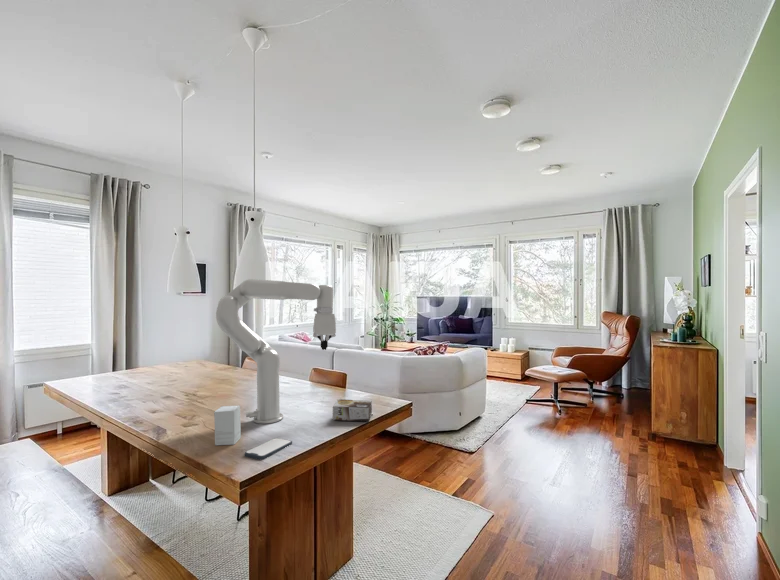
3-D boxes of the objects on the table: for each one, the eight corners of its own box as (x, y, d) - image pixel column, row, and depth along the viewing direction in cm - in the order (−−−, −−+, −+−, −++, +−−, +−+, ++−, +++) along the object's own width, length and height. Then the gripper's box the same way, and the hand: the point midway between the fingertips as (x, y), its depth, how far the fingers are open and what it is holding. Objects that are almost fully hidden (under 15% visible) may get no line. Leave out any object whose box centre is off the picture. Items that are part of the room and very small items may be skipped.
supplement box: (241, 437, 147) (241, 405, 147) (234, 445, 140) (234, 410, 140) (222, 438, 147) (221, 405, 147) (214, 445, 140) (213, 411, 140)
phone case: (275, 441, 145) (242, 457, 130) (275, 437, 145) (242, 452, 130) (293, 445, 141) (262, 461, 126) (293, 440, 141) (262, 456, 126)
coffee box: (332, 420, 164) (369, 422, 163) (332, 405, 164) (369, 407, 162) (337, 412, 173) (372, 414, 172) (337, 398, 173) (372, 400, 171)
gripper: (310, 311, 174) (309, 351, 174) (342, 311, 180) (341, 349, 179) (307, 310, 181) (306, 349, 181) (338, 310, 187) (337, 348, 186)
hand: (324, 349), depth 180 cm, fingers closed
